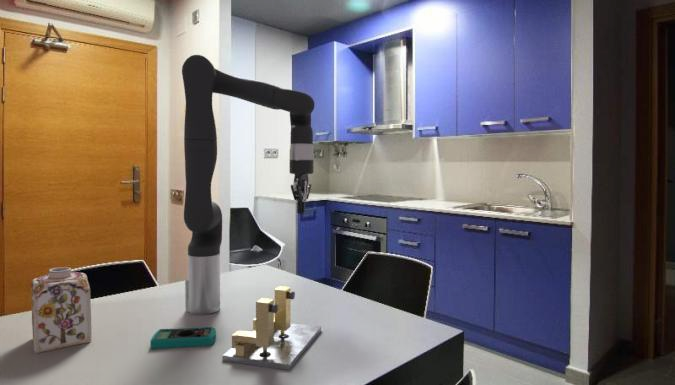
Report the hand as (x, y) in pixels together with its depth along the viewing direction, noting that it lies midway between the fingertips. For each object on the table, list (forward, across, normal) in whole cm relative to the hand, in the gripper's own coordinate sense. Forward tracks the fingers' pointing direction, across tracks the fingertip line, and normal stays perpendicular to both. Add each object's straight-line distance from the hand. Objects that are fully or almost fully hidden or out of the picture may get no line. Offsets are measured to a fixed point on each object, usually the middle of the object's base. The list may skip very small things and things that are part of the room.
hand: (301, 213), depth 134 cm
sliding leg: (+27, +30, +4) cm, 41 cm away
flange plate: (+29, +32, +5) cm, 43 cm away
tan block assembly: (+28, +32, +4) cm, 42 cm away
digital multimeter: (+30, +36, -18) cm, 50 cm away
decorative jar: (+29, +44, -47) cm, 71 cm away
